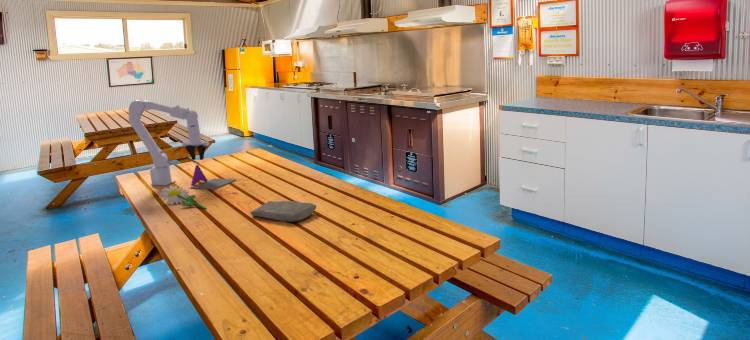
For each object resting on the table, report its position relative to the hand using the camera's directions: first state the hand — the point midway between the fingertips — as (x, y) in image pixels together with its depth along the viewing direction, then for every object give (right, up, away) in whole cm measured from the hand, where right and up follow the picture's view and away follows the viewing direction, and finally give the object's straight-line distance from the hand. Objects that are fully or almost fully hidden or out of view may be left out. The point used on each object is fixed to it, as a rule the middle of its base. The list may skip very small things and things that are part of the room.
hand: (197, 159), depth 271 cm
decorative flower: (+10, -21, -42) cm, 48 cm away
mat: (+12, -12, -10) cm, 20 cm away
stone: (+55, -24, -66) cm, 90 cm away
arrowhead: (+3, -12, -7) cm, 15 cm away
